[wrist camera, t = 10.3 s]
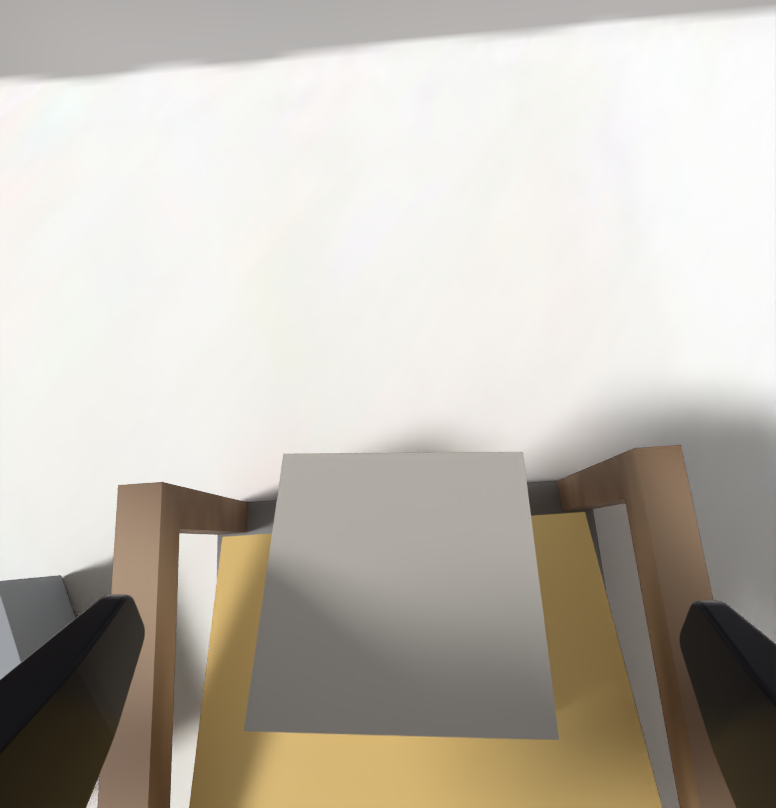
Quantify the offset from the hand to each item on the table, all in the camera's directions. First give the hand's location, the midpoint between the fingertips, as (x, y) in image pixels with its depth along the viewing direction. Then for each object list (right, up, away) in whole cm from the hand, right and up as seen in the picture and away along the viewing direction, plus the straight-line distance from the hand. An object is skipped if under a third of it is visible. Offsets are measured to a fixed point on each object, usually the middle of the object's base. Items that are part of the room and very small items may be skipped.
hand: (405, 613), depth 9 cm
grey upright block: (0, -4, +7) cm, 8 cm away
